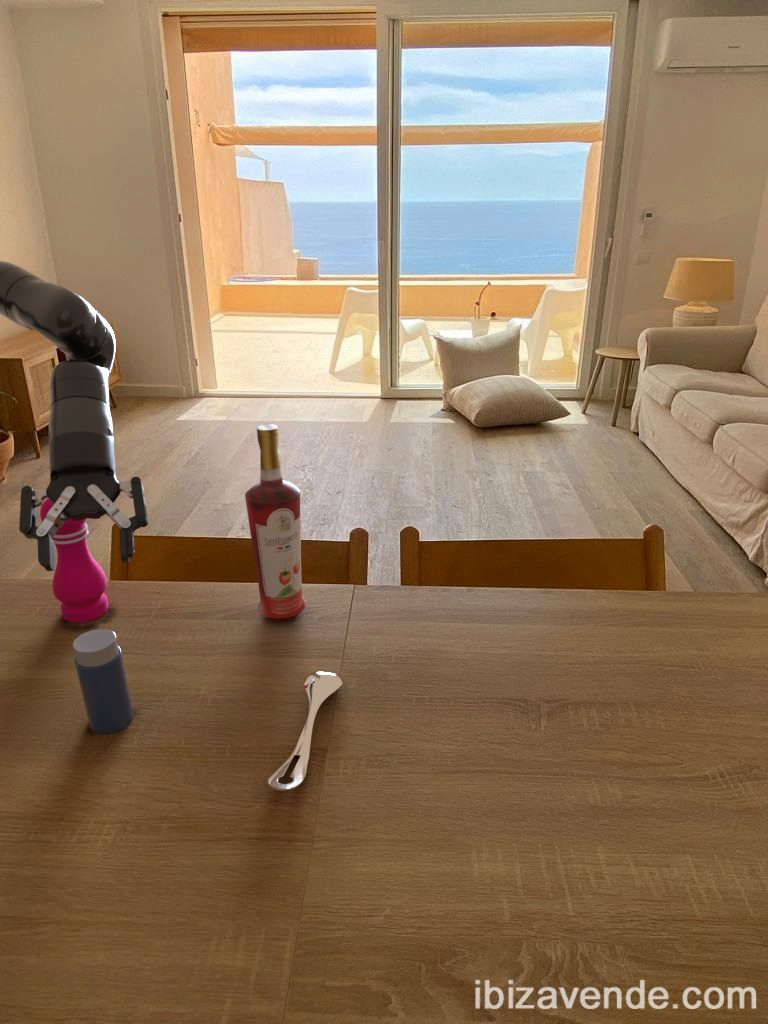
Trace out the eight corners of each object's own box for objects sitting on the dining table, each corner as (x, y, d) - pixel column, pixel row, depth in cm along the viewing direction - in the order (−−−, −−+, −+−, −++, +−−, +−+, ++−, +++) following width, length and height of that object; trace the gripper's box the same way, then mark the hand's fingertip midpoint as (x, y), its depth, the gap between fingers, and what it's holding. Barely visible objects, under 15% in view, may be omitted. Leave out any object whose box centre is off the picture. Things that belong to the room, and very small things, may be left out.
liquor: (299, 595, 105) (286, 416, 93) (314, 619, 99) (303, 431, 87) (251, 606, 102) (232, 423, 91) (264, 631, 96) (245, 439, 85)
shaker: (82, 733, 78) (62, 653, 74) (99, 705, 82) (82, 627, 78) (124, 734, 78) (107, 653, 73) (139, 706, 82) (124, 628, 78)
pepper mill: (117, 614, 101) (92, 486, 93) (65, 630, 97) (34, 499, 89) (105, 593, 106) (80, 471, 98) (54, 608, 103) (24, 482, 94)
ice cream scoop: (301, 776, 67) (254, 770, 67) (302, 805, 68) (256, 799, 69) (347, 662, 85) (310, 658, 86) (348, 686, 86) (311, 683, 87)
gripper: (144, 449, 93) (153, 566, 88) (29, 457, 89) (31, 579, 85) (137, 425, 86) (146, 550, 81) (11, 433, 83) (13, 564, 78)
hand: (87, 565), depth 83 cm, fingers open, 8 cm apart
